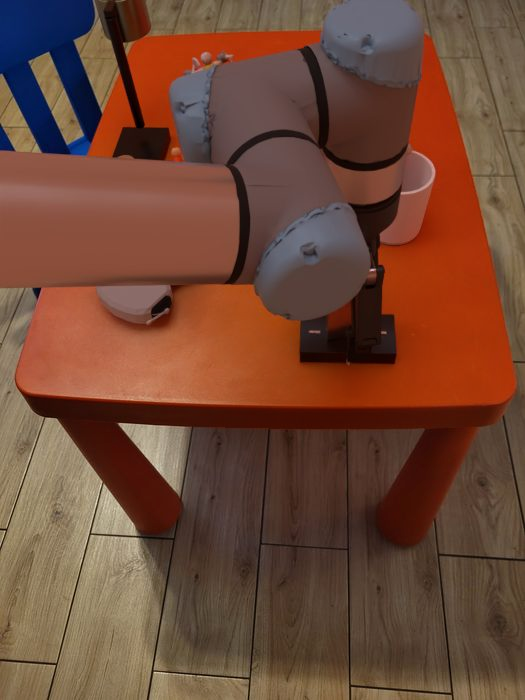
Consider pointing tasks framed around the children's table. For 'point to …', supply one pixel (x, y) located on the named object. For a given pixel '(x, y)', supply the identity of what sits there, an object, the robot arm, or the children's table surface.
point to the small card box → (338, 322)
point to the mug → (411, 200)
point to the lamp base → (143, 143)
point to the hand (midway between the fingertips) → (348, 318)
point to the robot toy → (136, 301)
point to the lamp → (125, 40)
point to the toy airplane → (208, 62)
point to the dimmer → (344, 343)
